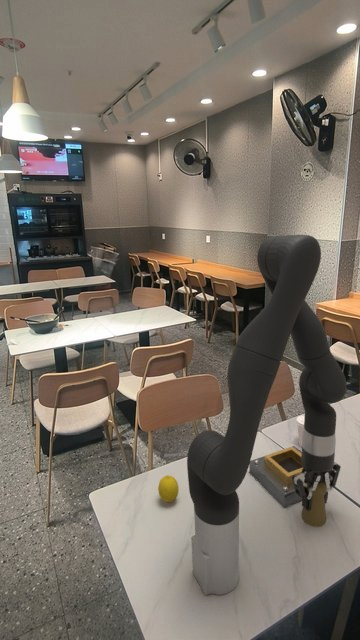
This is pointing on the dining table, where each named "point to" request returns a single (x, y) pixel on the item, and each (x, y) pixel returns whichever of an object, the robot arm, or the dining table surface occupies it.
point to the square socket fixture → (279, 474)
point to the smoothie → (300, 428)
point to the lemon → (168, 488)
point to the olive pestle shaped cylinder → (316, 507)
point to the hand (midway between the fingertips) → (314, 504)
